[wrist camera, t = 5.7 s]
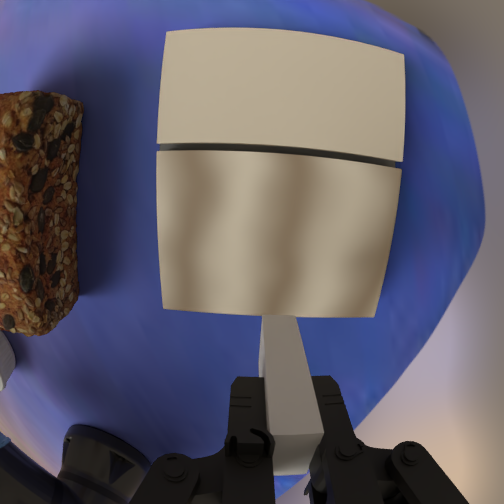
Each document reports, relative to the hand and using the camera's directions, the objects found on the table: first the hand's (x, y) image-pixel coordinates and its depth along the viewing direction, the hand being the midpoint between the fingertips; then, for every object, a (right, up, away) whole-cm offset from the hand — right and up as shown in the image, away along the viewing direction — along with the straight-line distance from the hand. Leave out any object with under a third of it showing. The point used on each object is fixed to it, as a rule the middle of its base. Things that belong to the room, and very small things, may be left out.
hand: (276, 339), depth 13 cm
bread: (-20, +9, +8) cm, 24 cm away
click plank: (+1, +5, +7) cm, 9 cm away
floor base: (+1, +10, +7) cm, 12 cm away
